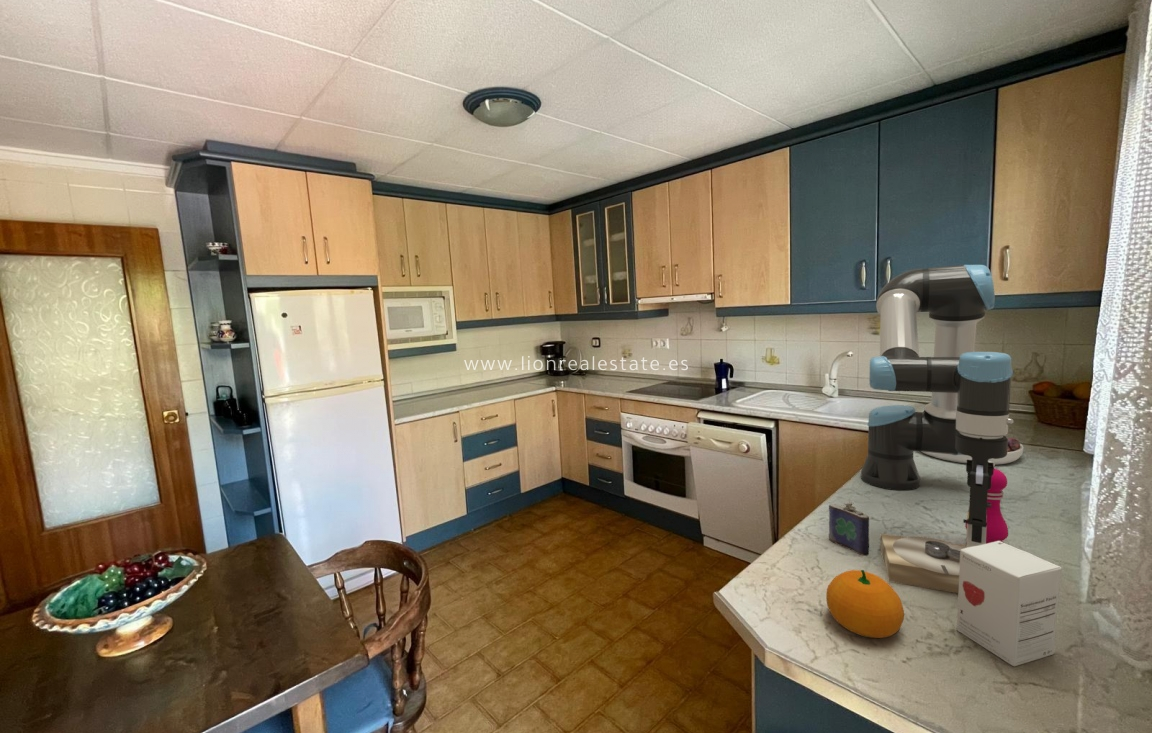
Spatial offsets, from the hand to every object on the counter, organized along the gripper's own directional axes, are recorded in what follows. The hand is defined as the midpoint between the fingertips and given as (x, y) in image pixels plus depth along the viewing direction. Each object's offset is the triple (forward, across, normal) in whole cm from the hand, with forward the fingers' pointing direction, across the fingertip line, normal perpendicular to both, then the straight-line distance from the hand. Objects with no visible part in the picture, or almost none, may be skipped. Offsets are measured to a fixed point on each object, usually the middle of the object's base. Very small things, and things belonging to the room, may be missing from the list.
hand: (976, 546), depth 91 cm
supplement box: (+8, -18, -4) cm, 20 cm away
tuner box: (+8, 0, +6) cm, 10 cm away
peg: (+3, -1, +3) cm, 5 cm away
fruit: (+8, -26, +15) cm, 31 cm away
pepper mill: (+8, +18, -2) cm, 20 cm away
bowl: (+8, +93, +4) cm, 94 cm away
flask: (+8, +2, +22) cm, 24 cm away
